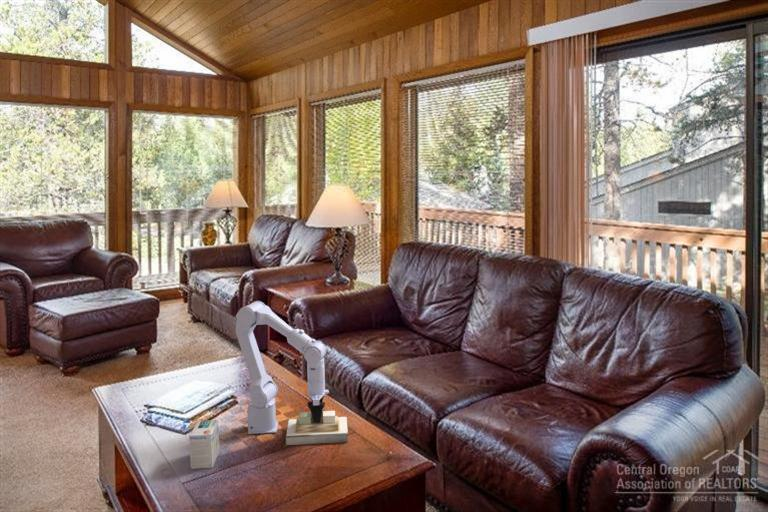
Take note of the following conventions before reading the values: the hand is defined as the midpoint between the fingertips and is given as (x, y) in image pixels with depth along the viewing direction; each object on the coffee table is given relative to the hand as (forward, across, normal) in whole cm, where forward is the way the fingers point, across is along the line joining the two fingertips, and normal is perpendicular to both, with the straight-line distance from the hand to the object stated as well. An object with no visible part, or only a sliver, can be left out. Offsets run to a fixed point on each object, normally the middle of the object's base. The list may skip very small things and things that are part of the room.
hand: (317, 417), depth 194 cm
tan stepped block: (+3, 0, 0) cm, 3 cm away
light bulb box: (+6, -14, +34) cm, 37 cm away
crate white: (+1, 0, -4) cm, 4 cm away
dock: (+6, 0, 0) cm, 6 cm away
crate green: (+1, 0, +4) cm, 4 cm away
